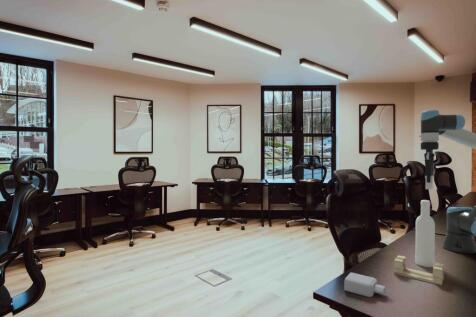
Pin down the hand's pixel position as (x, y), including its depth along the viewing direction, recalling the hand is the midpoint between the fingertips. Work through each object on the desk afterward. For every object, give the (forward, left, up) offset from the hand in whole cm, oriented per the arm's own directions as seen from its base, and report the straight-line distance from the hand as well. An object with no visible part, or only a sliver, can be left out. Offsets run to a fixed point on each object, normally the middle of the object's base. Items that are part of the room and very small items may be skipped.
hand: (429, 188), depth 149 cm
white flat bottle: (+50, +33, -35) cm, 69 cm away
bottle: (+8, +8, -35) cm, 37 cm away
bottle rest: (+21, +21, -34) cm, 46 cm away
